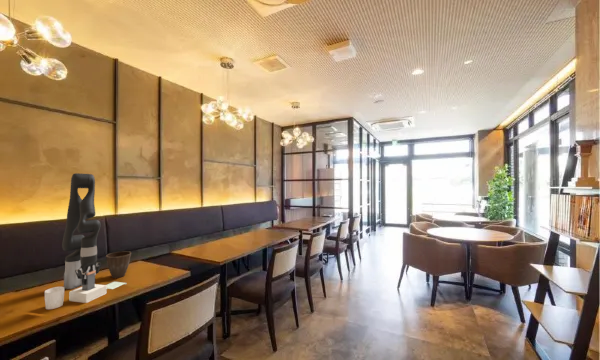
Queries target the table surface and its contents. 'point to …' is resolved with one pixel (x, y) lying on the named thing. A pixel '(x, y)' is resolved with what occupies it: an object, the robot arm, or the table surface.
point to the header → (87, 294)
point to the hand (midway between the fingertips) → (88, 283)
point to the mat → (114, 285)
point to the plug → (89, 281)
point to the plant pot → (118, 263)
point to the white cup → (54, 297)
